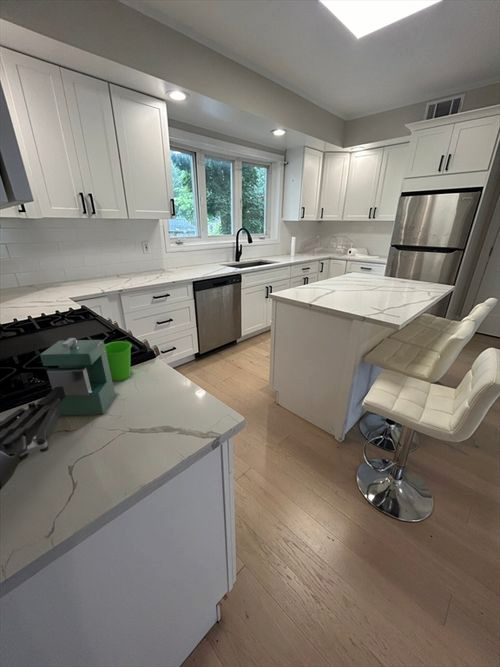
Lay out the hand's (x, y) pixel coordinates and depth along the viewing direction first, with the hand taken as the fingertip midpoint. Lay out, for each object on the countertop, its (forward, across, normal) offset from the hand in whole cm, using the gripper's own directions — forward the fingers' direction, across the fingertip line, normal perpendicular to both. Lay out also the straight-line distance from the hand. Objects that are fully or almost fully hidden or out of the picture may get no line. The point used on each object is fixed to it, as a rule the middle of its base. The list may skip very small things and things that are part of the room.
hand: (60, 391), depth 62 cm
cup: (+23, +3, -11) cm, 26 cm away
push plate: (+4, 0, -3) cm, 5 cm away
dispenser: (+9, 0, -11) cm, 14 cm away
